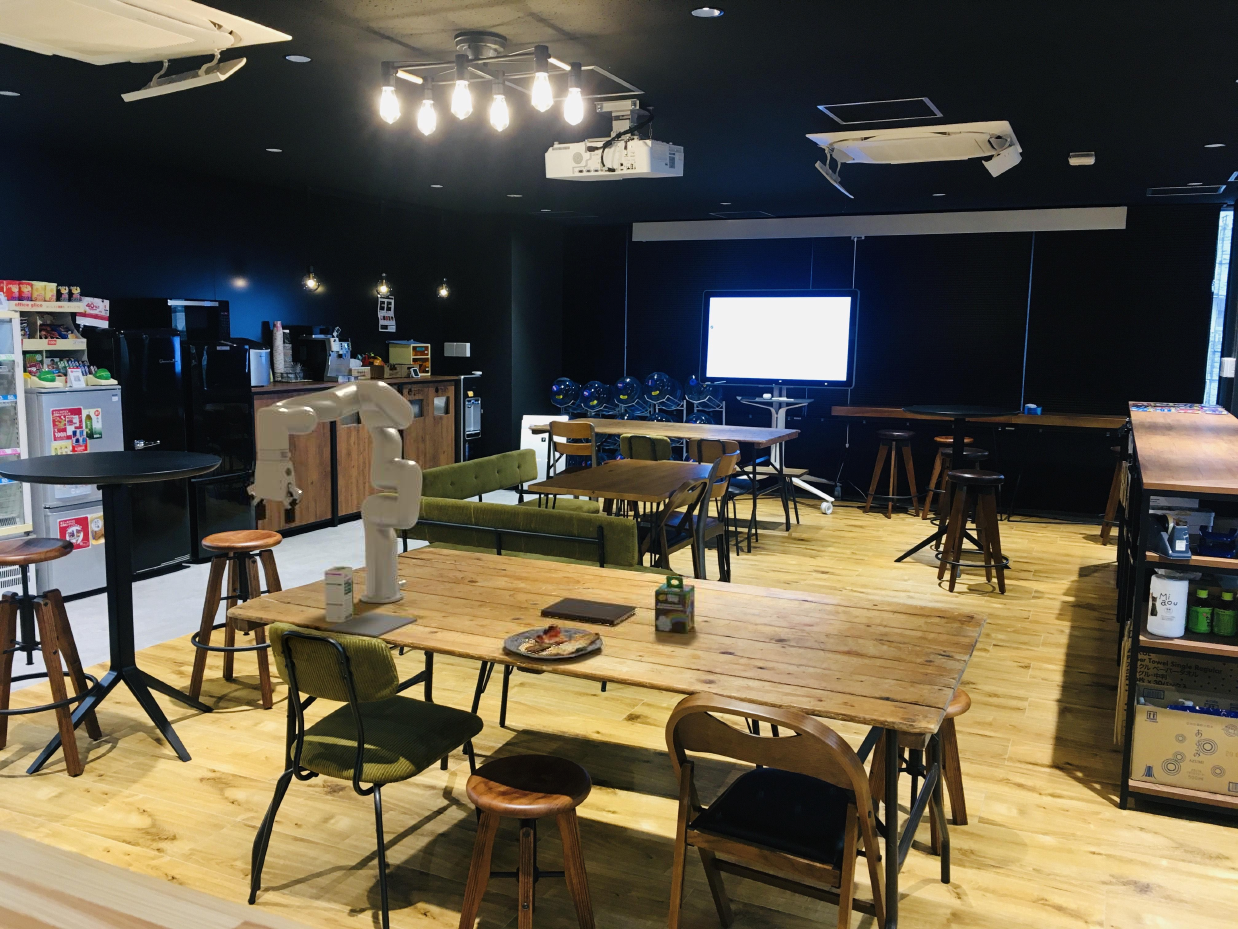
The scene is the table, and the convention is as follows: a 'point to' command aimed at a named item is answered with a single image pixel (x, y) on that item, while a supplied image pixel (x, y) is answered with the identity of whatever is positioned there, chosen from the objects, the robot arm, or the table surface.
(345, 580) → the syrup box
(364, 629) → the rubber mat
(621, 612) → the hardcover book
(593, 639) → the food plate
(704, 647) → the table surface
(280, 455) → the robot arm
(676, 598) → the chalk box
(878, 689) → the table surface
